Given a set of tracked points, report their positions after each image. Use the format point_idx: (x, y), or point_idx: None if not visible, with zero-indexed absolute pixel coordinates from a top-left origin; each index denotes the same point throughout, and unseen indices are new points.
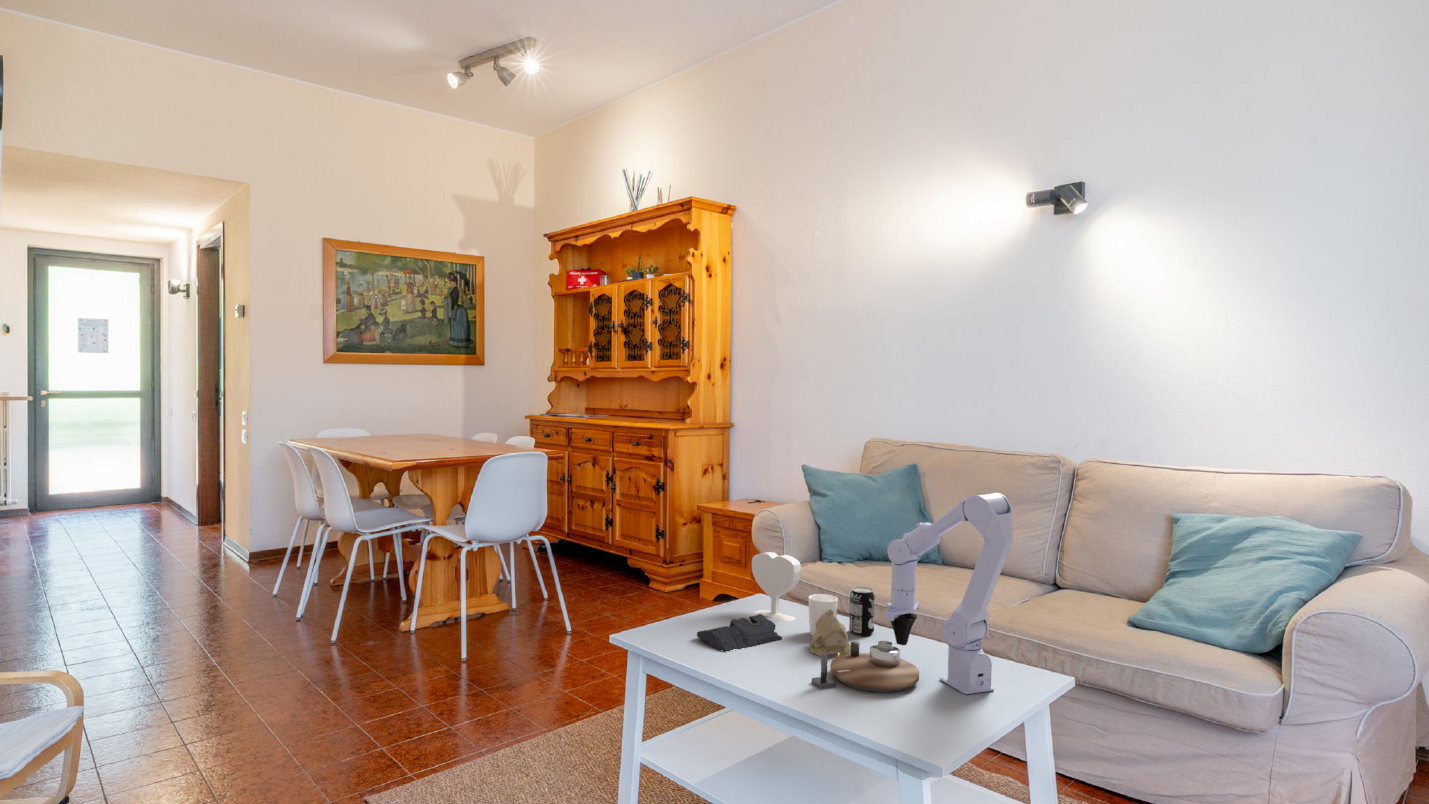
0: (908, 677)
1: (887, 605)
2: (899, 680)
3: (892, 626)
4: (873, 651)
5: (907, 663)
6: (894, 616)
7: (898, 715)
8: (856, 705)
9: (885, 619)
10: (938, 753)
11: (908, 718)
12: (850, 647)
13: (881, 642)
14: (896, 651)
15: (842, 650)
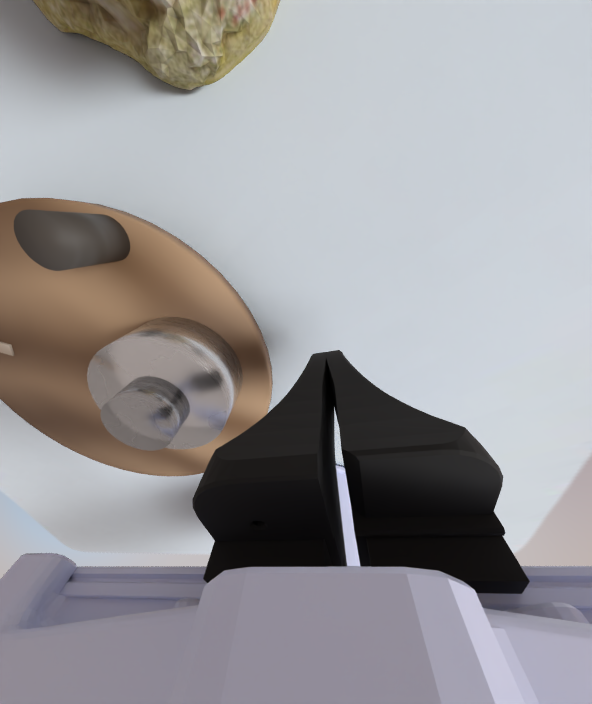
0: (172, 465)
1: (184, 667)
2: (136, 463)
3: (276, 406)
4: (92, 388)
5: (252, 416)
6: (133, 606)
7: (88, 483)
8: (18, 427)
9: (24, 562)
10: (83, 543)
11: (99, 494)
12: (216, 30)
13: (121, 413)
14: (191, 437)
15: (144, 36)
